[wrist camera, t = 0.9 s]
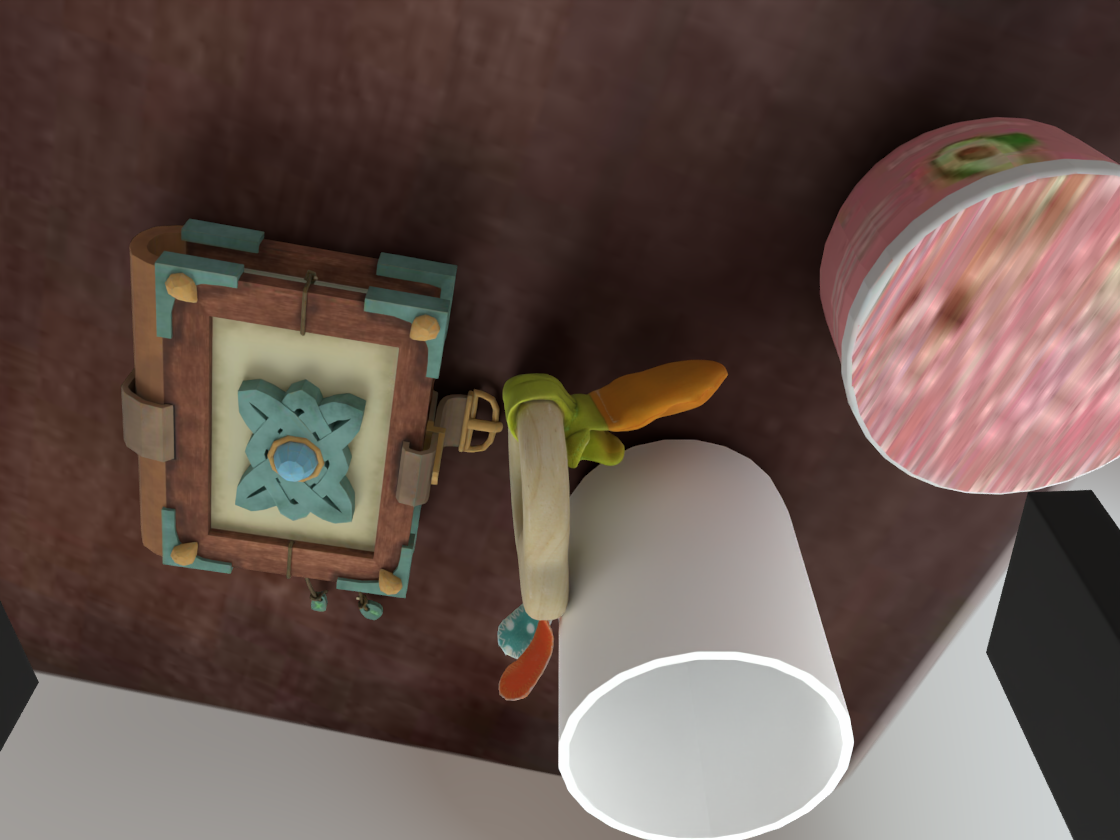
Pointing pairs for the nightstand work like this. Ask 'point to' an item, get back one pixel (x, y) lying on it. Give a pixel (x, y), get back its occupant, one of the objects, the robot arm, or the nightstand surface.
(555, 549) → the rattle
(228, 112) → the nightstand surface
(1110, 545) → the robot arm
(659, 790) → the mug
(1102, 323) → the container
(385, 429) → the decorative book
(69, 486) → the nightstand surface
